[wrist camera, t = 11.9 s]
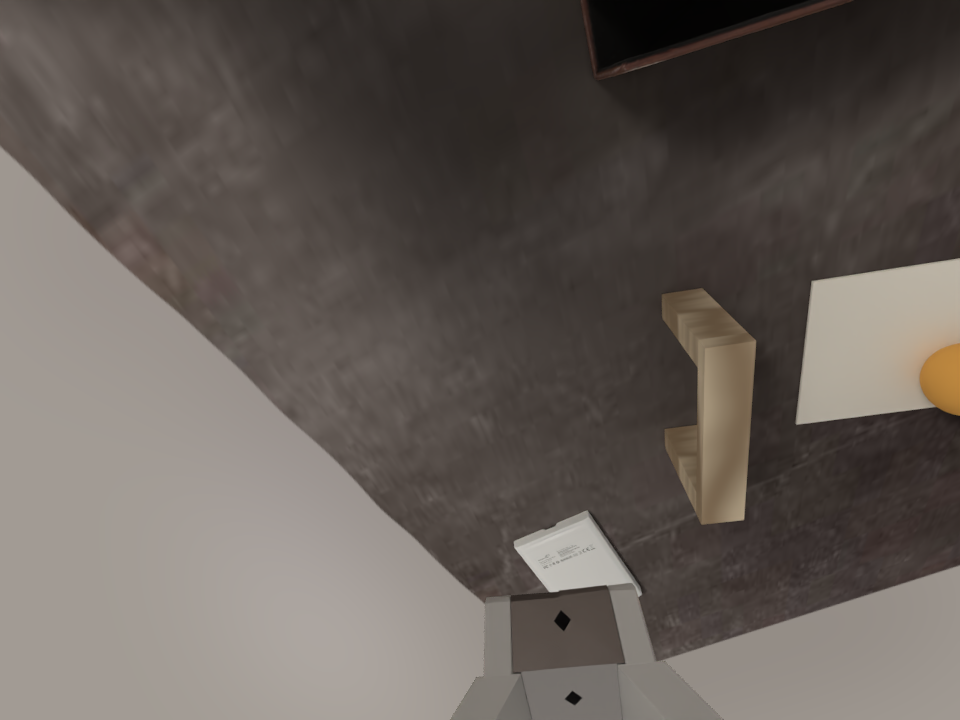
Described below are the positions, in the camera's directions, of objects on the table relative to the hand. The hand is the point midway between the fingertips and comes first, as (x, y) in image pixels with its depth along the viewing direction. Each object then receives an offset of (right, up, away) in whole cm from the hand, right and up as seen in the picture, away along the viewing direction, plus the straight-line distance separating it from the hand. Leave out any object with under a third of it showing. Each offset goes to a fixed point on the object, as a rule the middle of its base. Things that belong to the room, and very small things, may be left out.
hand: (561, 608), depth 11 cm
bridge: (+15, +4, +33) cm, 36 cm away
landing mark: (+31, +6, +31) cm, 44 cm away
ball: (+35, +4, +29) cm, 46 cm away
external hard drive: (+8, -16, +44) cm, 47 cm away
